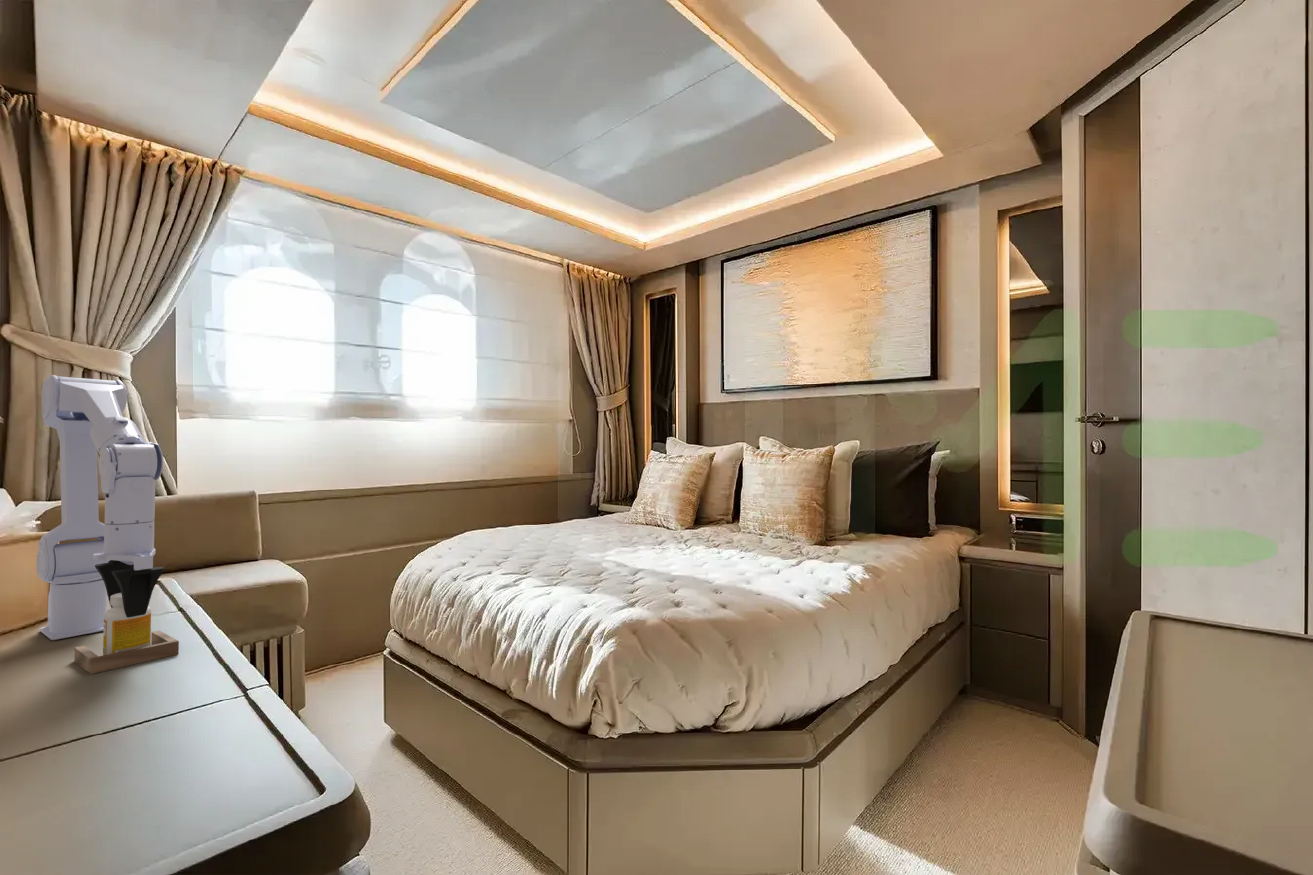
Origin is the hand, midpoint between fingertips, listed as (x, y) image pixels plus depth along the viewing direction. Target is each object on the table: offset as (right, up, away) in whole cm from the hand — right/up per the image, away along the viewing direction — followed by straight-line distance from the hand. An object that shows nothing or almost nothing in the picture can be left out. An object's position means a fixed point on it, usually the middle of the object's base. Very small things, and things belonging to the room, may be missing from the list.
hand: (128, 611), depth 90 cm
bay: (0, -7, 0) cm, 7 cm away
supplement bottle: (0, -7, 0) cm, 7 cm away
